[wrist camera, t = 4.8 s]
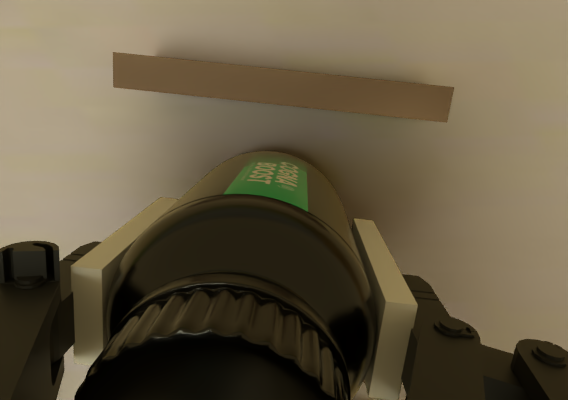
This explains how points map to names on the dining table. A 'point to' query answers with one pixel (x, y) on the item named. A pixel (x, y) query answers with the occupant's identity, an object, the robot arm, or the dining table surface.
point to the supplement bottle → (241, 294)
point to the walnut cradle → (282, 87)
